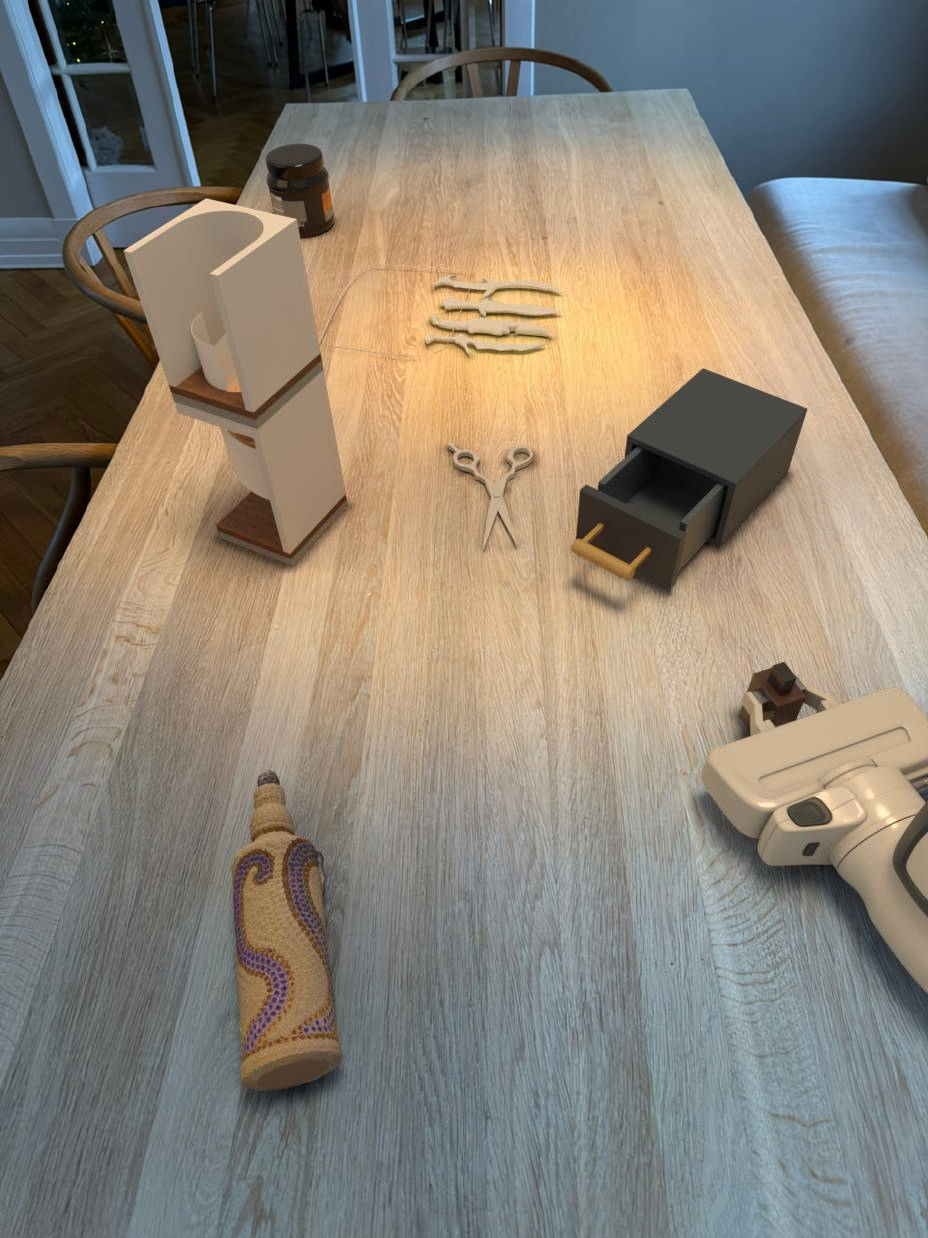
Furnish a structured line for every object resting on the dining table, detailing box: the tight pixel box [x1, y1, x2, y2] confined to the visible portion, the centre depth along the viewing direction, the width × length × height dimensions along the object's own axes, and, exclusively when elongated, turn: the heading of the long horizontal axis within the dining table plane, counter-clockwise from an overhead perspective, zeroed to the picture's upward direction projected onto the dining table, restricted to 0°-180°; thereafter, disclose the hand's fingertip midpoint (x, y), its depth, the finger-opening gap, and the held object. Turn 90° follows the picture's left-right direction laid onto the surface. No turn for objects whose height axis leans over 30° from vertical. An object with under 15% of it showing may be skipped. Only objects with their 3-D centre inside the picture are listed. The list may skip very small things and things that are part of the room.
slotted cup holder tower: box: [123, 198, 349, 567], centre depth 92 cm, size 11×11×35 cm
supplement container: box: [265, 143, 335, 238], centre depth 152 cm, size 10×10×12 cm
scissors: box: [447, 441, 534, 551], centre depth 107 cm, size 11×1×20 cm
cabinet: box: [624, 368, 808, 549], centre depth 103 cm, size 17×14×10 cm
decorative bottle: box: [231, 769, 343, 1092], centre depth 71 cm, size 26×8×7 cm, turn 12°
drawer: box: [571, 446, 728, 592], centre depth 97 cm, size 20×12×8 cm, turn 140°
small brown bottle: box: [738, 661, 806, 731], centre depth 81 cm, size 4×3×8 cm
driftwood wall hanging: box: [318, 264, 565, 357], centre depth 134 cm, size 26×35×1 cm
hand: (769, 687), depth 81 cm, fingers closed on small brown bottle, 3 cm apart
